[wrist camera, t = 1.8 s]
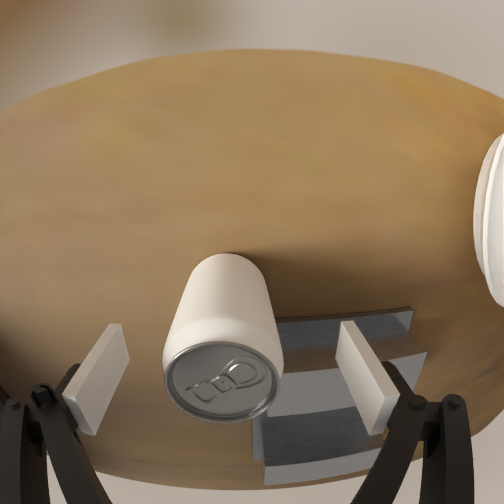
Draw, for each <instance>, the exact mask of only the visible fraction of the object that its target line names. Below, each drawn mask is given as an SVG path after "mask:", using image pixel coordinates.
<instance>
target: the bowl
mask: <svg viewBox="0 0 504 504" xmlns="http://www.w3.org/2000/svg"><path fill="white" fill-rule="evenodd" d="M473 233H474V245H475V250H476V255H477V260H478V263H479V265H480V268H481V271H482V272H483V274H484V275H485V277H486V281H487V284H488V287H489V290H490V293H491V295H492V296H493V298H494V299H495V301H496V302H497V303H498V304H499V305H501V306H502V307H504V133H503V134H501V135H500V136H499V137H498V138H496V139H495V141H494V142H493V144H492V145H491V146H490V148H489V150H488V152H487V154H486V156H485V158H484V161H483V164H482V167H481V171H480V174H479V178H478V183H477V188H476V193H475V202H474V211H473Z"/></svg>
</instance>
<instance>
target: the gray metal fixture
mask: <svg viewBox="0 0 504 504" xmlns="http://www.w3.org/2000/svg"><path fill="white" fill-rule="evenodd" d="M413 312H414V310H413V309H412V308H411V307H405V308H396V309H388V310H379V311H370V312H360V313H349V314H337V315H325V316H311V317H295V318H276V319H275V323H276V327H277V331H278V335H279V340H280V344H281V348H282V354H283V363H284V366H283V373H282V376H281V379H280V390H279V393H278V396H277V398H276V400H275V401H274V403H273V404H272V405H271V406H270V407H269V408H268V409H267V410H266V411H265V412H263V413H262V414H260V415H258V416H257V417H254V418H252V435H253V461H257V460H261V461H262V471H263V480H264V485H277V484H287V483H296V482H304V481H311V480H317V479H323V478H329V477H334V476H339V475H344V474H348V473H353V472H357V471H361V470H365V469H369V468H372V466H373V464H374V462H375V460H376V458H377V456H378V454H379V452H380V450H381V448H382V446H383V444H384V439H383V437H382V435H381V433H380V434H376V435H372V436H369V434H368V432H367V430H366V427H365V425H364V423H363V420H362V418H361V416H360V413H359V411H358V409H357V406H356V404H355V402H354V399H353V397H352V395H351V393H350V390H349V388H348V386H347V383H346V381H345V379H344V377H343V374H342V372H341V370H340V368H339V366H338V363H337V361H336V359H335V356H336V350H337V345H338V339H339V332H340V326H341V321H352V320H353V321H354V323H355V324H356V326H357V327H358V329H359V330H360V332H361V333H362V335H363V336H364V338H365V339H366V341H367V342H368V344H369V346H370V347H371V349H372V350H373V352H374V353H375V355H376V356H377V358H378V360H379V361H380V362H382V361H390V362H391V363H392V364H394V365H395V366H396V367H397V369H398V370H399V373H401V375H402V376H403V378H404V379H405V381H406V382H407V384H408V385H409V387H410V388H411V390H412V391H413V390H414V387H415V385H416V382H417V380H418V377H419V374H420V372H421V369H422V366H423V364H424V361H425V358H426V355H427V351H426V349H425V348H424V347H423V346H422V345H421V344H420V343H419V342H418V341H417V339H416V338H415V337H414V336H413V335H412V334H411V333H410V332H409V328H410V324H411V320H412V316H413Z"/></svg>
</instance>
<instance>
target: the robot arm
mask: <svg viewBox="0 0 504 504" xmlns="http://www.w3.org/2000/svg"><path fill="white" fill-rule="evenodd" d="M335 359H336V361H337V363H338V366H339V368H340V370H341V372H342V374H343V377H344V379H345V381H346V383H347V386H348V388H349V390H350V393H351V395H352V397H353V399H354V402H355V404H356V406H357V409H358V411H359V413H360V416H361V418H362V420H363V423H364V425H365V427H366V430H367V432H368V434H369V436H372V435H376V434H380V433H383V432H384V430H385V428H386V426H387V427H388V429H389V431H390V432H389V434H388V436H387V438H386V439H385V441H384V444H383V446H382V448H381V450H380V452H379V454H378V456H377V458H376V460H375V462H374V464H373V466H372V468H371V469H370V471H369V473H368V475H367V477H366V479H365V480H364V482H363V484H362V485H361V487H360V489H359V491H358V492H357V494H356V495H355V497H354V499H353V500H352V502H351V503H350V504H392V503H393V501H394V499H395V497H396V495H397V492H398V490H399V488H400V486H401V484H402V481H403V479H404V477H405V474H406V472H407V469H408V467H409V465H410V462H411V459H412V457H413V454H414V451H415V449H416V446H417V443H418V441H424V447H423V469H422V480H421V491H420V499H419V504H474V469H473V454H472V444H471V435H470V428H469V421H468V414H467V408H466V403H465V401H464V399H463V398H462V397H461V396H459V395H456V394H449V395H447V396H445V397H444V399H443V400H442V402H428V401H427V400H426V399H425V398H424V397H422V396H420V395H415V394H414V393H413V391H412V390H411V388H410V387H409V385H408V384H407V382H406V381H405V379H404V378H403V376H402V375H401V373H399V370H398V369H397V367H396V366H395V365H394V364H392V363H391V362H390V361H382V362H380V361H379V360H378V358H377V356H376V355H375V353H374V352H373V350H372V349H371V347H370V346H369V344H368V342H367V341H366V339H365V338H364V336H363V335H362V333H361V332H360V330H359V329H358V327H357V326H356V324H355V323H354V321H353V320H352V321H341V326H340V332H339V339H338V345H337V350H336V356H335ZM129 361H130V358H129V355H128V351H127V347H126V343H125V339H124V335H123V331H122V327H121V324H111V323H110V324H109V325H108V327H107V328H106V330H105V331H104V332H103V334H102V335H101V337H100V338H99V339H98V341H97V342H96V344H95V345H94V347H93V348H92V349H91V351H90V352H89V354H88V355H87V357H86V358H85V360H84V361H83V363H82V364H75V365H74V366H72V367H71V368H70V369H69V370H68V372H67V373H66V376H64V378H63V379H62V380H61V382H60V383H59V385H58V386H57V388H56V389H55V391H53V389H52V387H51V385H49V384H46V383H41V384H37V385H35V386H34V387H33V388H32V389H31V391H30V397H31V399H32V400H33V402H34V404H26V402H25V400H24V399H23V398H22V397H20V396H14V397H11V398H9V397H8V396H7V395H6V394H5V393H4V392H3V391H2V390H1V389H0V504H50V497H49V488H48V476H47V457H46V447H47V450H48V453H49V457H50V460H51V463H52V466H53V469H54V471H55V474H56V477H57V479H58V482H59V485H60V487H61V490H62V492H63V494H64V497H65V500H66V502H67V504H112V502H111V501H110V499H109V497H108V496H107V494H106V492H105V490H104V488H103V486H102V485H101V483H100V481H99V479H98V477H97V475H96V473H95V471H94V469H93V467H92V465H91V463H90V461H89V459H88V457H87V454H86V452H85V450H84V448H83V445H82V443H81V441H80V438H79V436H78V434H77V432H76V429H77V427H78V426H79V428H80V429H81V431H82V433H85V434H89V435H94V436H95V435H96V433H97V430H98V428H99V426H100V423H101V421H102V419H103V417H104V414H105V412H106V410H107V408H108V406H109V403H110V401H111V399H112V397H113V395H114V393H115V390H116V388H117V386H118V384H119V382H120V380H121V378H122V376H123V374H124V372H125V369H126V367H127V365H128V363H129Z"/></svg>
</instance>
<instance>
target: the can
mask: <svg viewBox="0 0 504 504" xmlns="http://www.w3.org/2000/svg"><path fill="white" fill-rule="evenodd" d="M162 362H163V369H164V373H165V375H164V384H165V388H166V391H167V393H168V395H169V397H170V399H171V400H172V401H173V402H174V404H175V405H176V406H177V407H179V408H180V409H181V410H182V411H184V412H185V413H187V414H189V415H191V416H193V417H195V418H197V419H200V420H203V421H207V422H212V423H222V424H228V423H238V422H243V421H246V420H249V419H252V418H254V417H257V416H258V415H260V414H262V413H263V412H265V411H266V410H267V409H268V408H269V407H270V406H271V405H272V404H273V403H274V401H275V400H276V398H277V396H278V393H279V390H280V379H281V376H282V373H283V366H284V363H283V354H282V348H281V344H280V340H279V335H278V331H277V327H276V323H275V319H274V314H273V310H272V306H271V302H270V298H269V294H268V290H267V286H266V283H265V279H264V277H263V275H262V273H261V272H260V270H259V269H258V268H257V267H256V266H255V265H254V264H253V263H252V262H251V261H249V260H248V259H246V258H244V257H242V256H239V255H235V254H217V255H213V256H211V257H208V258H206V259H205V260H203V261H202V262H201V263H199V264H198V265H197V266H196V268H195V269H194V270H193V272H192V274H191V276H190V278H189V280H188V283H187V285H186V288H185V290H184V293H183V296H182V298H181V301H180V304H179V306H178V309H177V312H176V314H175V317H174V320H173V323H172V326H171V328H170V331H169V334H168V337H167V340H166V343H165V347H164V351H163V359H162Z"/></svg>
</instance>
